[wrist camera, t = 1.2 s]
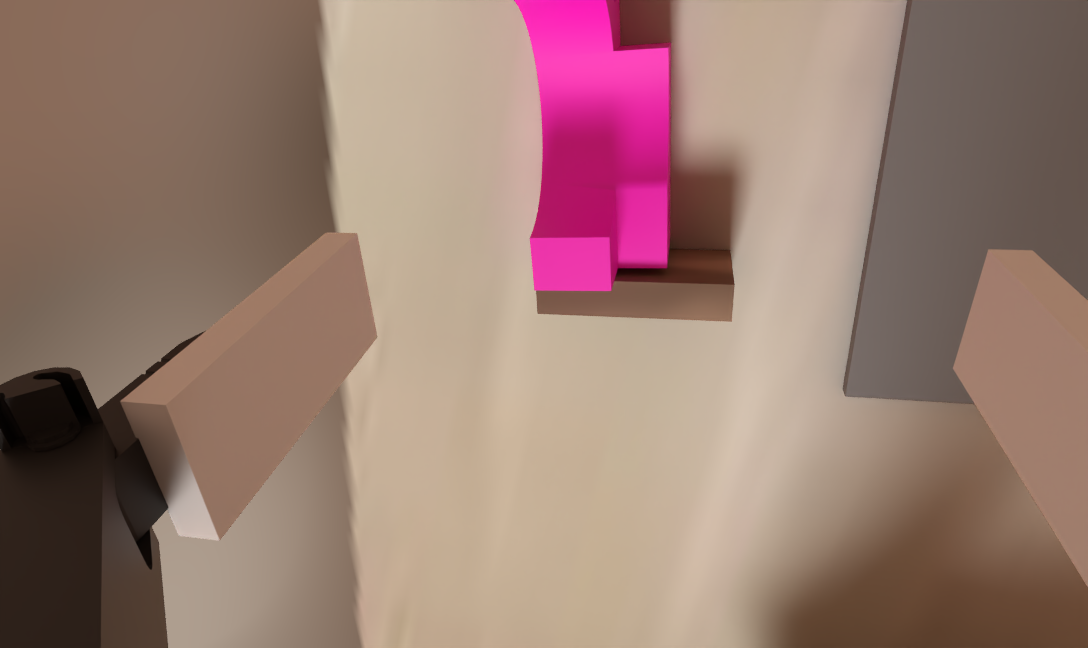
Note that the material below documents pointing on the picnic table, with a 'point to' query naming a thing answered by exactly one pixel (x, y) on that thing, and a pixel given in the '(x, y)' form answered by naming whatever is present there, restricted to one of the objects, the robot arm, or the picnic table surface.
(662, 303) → the block
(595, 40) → the toy block
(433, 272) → the picnic table surface
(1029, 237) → the slate mat
